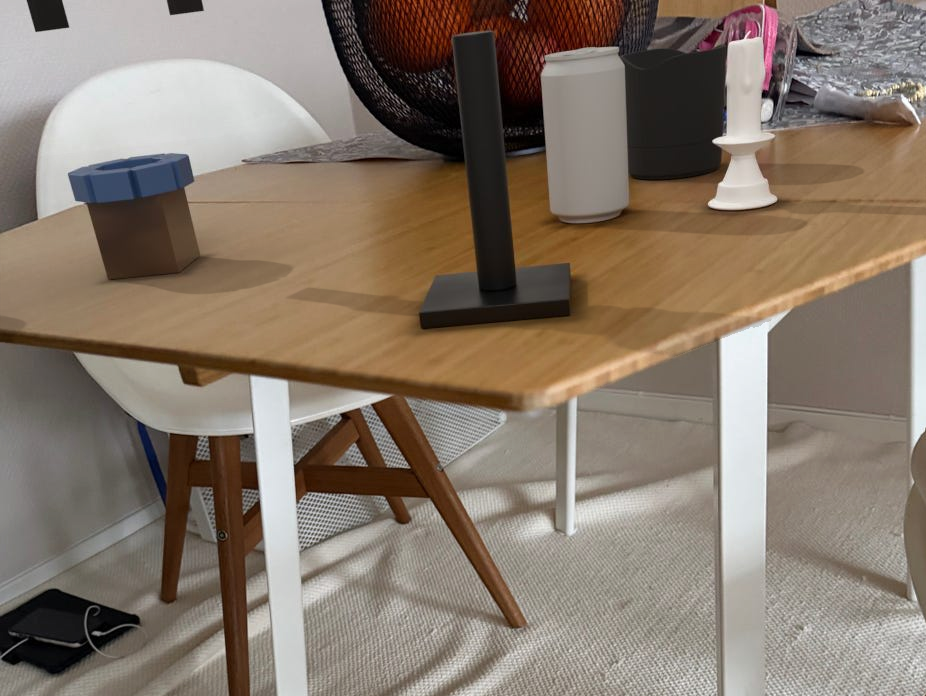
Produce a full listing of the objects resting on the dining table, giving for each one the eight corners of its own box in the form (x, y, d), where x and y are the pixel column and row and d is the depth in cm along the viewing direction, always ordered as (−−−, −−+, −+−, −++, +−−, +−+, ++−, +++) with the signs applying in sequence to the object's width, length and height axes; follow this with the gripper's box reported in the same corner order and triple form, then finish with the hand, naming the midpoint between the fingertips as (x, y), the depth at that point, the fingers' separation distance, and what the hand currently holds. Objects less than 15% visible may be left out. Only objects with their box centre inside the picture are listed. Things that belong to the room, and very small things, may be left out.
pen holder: (705, 158, 106) (705, 42, 101) (740, 171, 98) (742, 46, 93) (612, 171, 106) (607, 55, 100) (639, 185, 98) (635, 60, 92)
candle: (781, 195, 87) (787, 24, 81) (771, 209, 83) (776, 31, 77) (715, 198, 89) (715, 31, 83) (701, 212, 85) (701, 38, 79)
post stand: (420, 328, 66) (382, 48, 58) (436, 290, 73) (404, 37, 66) (570, 315, 65) (551, 27, 57) (570, 277, 72) (554, 19, 65)
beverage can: (539, 226, 88) (526, 58, 81) (567, 208, 92) (557, 48, 86) (614, 224, 85) (607, 50, 79) (640, 206, 90) (635, 41, 83)
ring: (60, 207, 84) (51, 179, 83) (102, 186, 92) (95, 160, 91) (171, 195, 83) (164, 167, 82) (205, 175, 91) (199, 149, 90)
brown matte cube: (107, 279, 88) (85, 201, 85) (133, 262, 93) (113, 187, 90) (178, 272, 88) (159, 193, 84) (200, 255, 93) (182, 180, 90)
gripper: (212, -409, 65) (283, 0, 76) (-57, -313, 77) (39, 31, 88) (122, -435, 60) (213, 10, 71) (-153, -327, 71) (-38, 41, 82)
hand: (117, 22), depth 79 cm, fingers open, 13 cm apart
